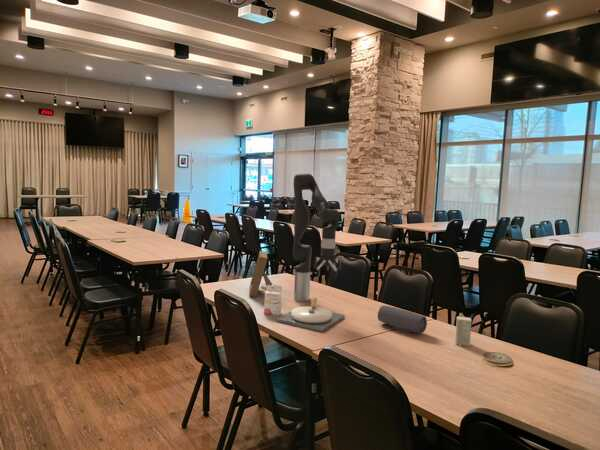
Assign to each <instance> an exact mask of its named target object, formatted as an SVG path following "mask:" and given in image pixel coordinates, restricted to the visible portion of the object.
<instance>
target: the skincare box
mask: <svg viewBox="0 0 600 450" xmlns="http://www.w3.org/2000/svg"><path fill="white" fill-rule="evenodd" d="M471 330H472V318H471V317H466V316H456V325H455V340H454V341H455V342H454V343H455V345H456V344H460V345H459V346H462V345H468V346H467V347H469V346H471V337H472V335H471V333H472V332H471Z"/></svg>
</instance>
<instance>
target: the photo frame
mask: <svg viewBox="0 0 600 450" xmlns="http://www.w3.org/2000/svg"><path fill="white" fill-rule="evenodd" d="M267 261H268V254H267V251H263V250H259V253H258V256H257V260H256V263H255V267H254V269H253V273H252V277H251V281H250V284H249V293H248V294H249V295H248V296H249V297H253V298H257V297H258V293H259V289H260V285H261V282H262V279H263V280H264V282H265V285H266V287H267V285H273V283H272V281H271V280H270V278H269V277H268V275H267V273H266V271H265V268H266V264H267Z"/></svg>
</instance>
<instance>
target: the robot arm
mask: <svg viewBox="0 0 600 450" xmlns="http://www.w3.org/2000/svg"><path fill="white" fill-rule="evenodd" d="M315 179H316V178H314V176H313V175H312V174H311V173H297V174H295V175H294V177H293V194H294V195H293V197H294V212H293V213H294V214H293V216H294V218H293V220H294V221H293V223H294V224H293V225H294V227H293V228H294V230H293V231H294V233H293V234H294V236H293V246H292V247H293V249H292V256H293V259H294V260H295V261H305V262H303V263H302V264H301V263H300V264H298V265H295V267H294V286H293V287H294V288H293V289H294V290H293V300H295V301H297V302H308V301H310V295H311V293H310V292H311V267H312V266H311V265H312V263H311V262H312V251H313V248H312V246H311V245H310V244H300V242H301V239H302V237H303V235H304V234H305V232H306V231H307V230H308V228H309V226H310V223H311V212H310V209H309V206H307V204H306V203H305V199H304V196H303V191H306V190H307V191H311V203H312V204H313V206H314V208H315V209H316V211H317V214H318V218H319V220H320V221H321V222H323V223H328V224H327V226H325V227H323V228H322V231H321V242H320V257H318V256H316V257H315V256H314V259H313V269H315V270H316V276H317V278H319V277H320V276H321V267H323V266H324V267H331V268H332V269H333V272H334V273H333V279H336V278H337V276H338V272H339V271H341V270H342V261H341V258H336V233H337V228H338V224H339V222H340V216H341V215H340V212H339V211H338V209H335V208H334V209H333V208H332V209H331V208H330V204H329V202H328V201H327V199H326V198H325V196H324V195H323V194H322V192H321V190H320V188H319V185H318V183H317V182H316V180H315ZM319 261H320V264H319V265H318V262H319ZM335 262H336V263H337V267H336V264H335ZM317 265H318V266H317Z"/></svg>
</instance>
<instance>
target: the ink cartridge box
mask: <svg viewBox="0 0 600 450" xmlns="http://www.w3.org/2000/svg"><path fill="white" fill-rule="evenodd" d="M263 305H264V307H263V310H264V311H263V314H265V315H275V316H280V315H281V311H282V286H281V285H273V284H272V285H267V286H266V291H265V292H264V304H263Z"/></svg>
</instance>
